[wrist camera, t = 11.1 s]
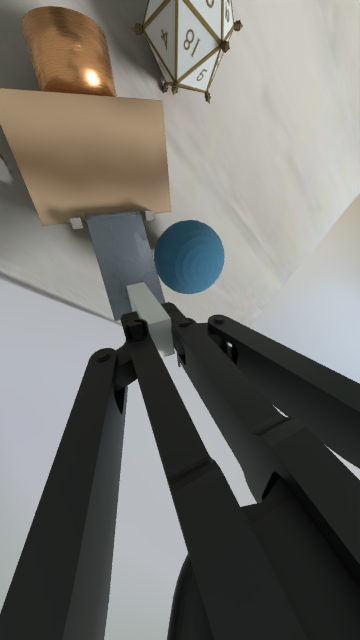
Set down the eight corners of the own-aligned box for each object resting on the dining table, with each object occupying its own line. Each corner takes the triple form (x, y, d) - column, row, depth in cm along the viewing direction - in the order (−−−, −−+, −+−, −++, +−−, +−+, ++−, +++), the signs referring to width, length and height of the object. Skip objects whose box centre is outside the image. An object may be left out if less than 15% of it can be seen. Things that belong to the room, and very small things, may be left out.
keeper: (86, 218, 17) (83, 210, 16) (137, 213, 19) (138, 205, 18) (115, 321, 18) (114, 320, 16) (164, 308, 19) (166, 307, 18)
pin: (31, 57, 16) (8, -4, 11) (104, 66, 18) (110, 16, 13) (92, 250, 25) (93, 262, 20) (136, 244, 27) (147, 253, 22)
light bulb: (200, 230, 30) (252, 242, 20) (180, 280, 33) (218, 311, 23) (151, 205, 25) (188, 206, 16) (133, 265, 28) (155, 296, 19)
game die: (148, 84, 22) (99, 31, 15) (183, -45, 17) (136, -236, 9) (210, 132, 24) (195, 107, 16) (261, 24, 18) (277, -96, 10)
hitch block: (18, 124, 18) (-29, 71, 11) (142, 128, 21) (169, 90, 14) (55, 223, 22) (40, 233, 15) (152, 213, 26) (178, 217, 19)
